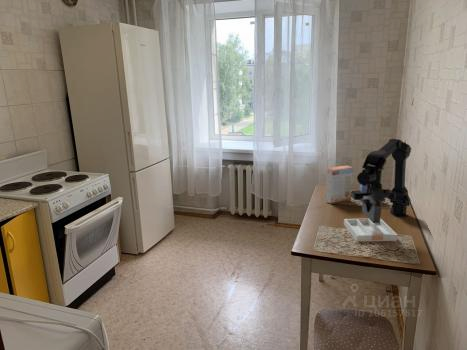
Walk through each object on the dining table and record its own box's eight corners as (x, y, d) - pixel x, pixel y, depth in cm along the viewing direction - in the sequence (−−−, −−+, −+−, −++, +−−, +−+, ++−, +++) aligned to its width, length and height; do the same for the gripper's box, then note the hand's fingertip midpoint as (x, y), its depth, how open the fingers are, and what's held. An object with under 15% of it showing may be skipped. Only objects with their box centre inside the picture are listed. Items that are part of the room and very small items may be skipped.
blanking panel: (367, 211, 167) (369, 195, 165) (379, 222, 153) (381, 206, 151) (361, 211, 167) (363, 195, 165) (373, 223, 154) (374, 206, 151)
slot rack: (379, 223, 171) (380, 217, 170) (397, 241, 153) (398, 234, 152) (343, 224, 171) (344, 218, 170) (356, 241, 153) (357, 235, 152)
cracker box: (344, 197, 208) (347, 164, 203) (351, 201, 203) (353, 167, 197) (325, 200, 204) (326, 167, 199) (330, 204, 199) (332, 169, 193)
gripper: (359, 186, 147) (357, 219, 152) (402, 185, 147) (398, 218, 152) (351, 178, 158) (348, 209, 162) (391, 177, 158) (387, 209, 162)
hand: (370, 211), depth 159 cm, fingers closed on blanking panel, 3 cm apart
